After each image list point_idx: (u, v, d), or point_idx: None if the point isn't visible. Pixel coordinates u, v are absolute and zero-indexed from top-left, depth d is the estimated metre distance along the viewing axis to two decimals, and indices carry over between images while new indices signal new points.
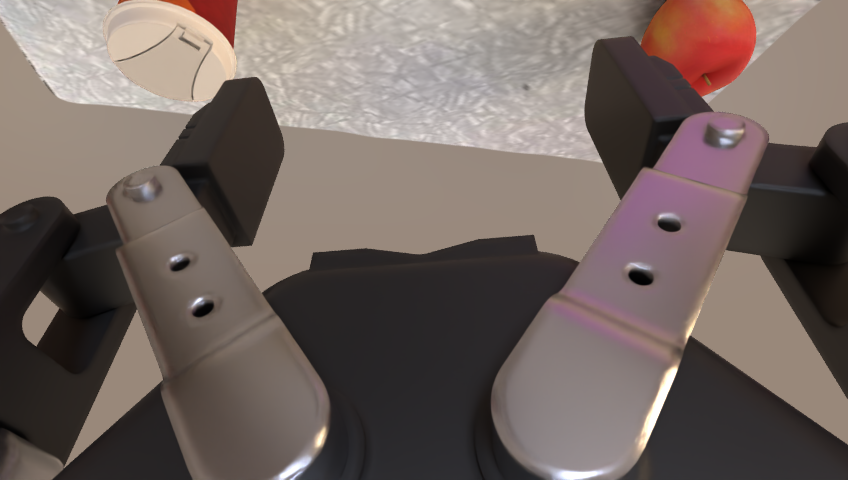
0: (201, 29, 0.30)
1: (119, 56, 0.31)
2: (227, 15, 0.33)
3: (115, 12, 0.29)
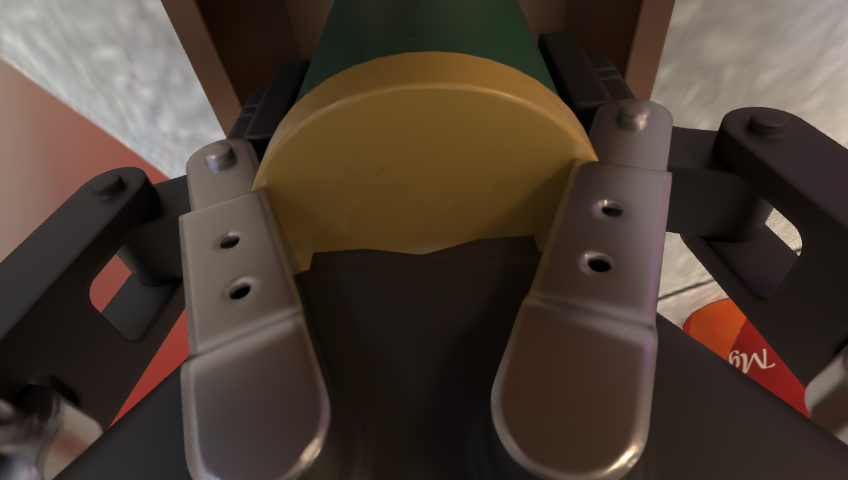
0: None
1: None
2: None
3: None
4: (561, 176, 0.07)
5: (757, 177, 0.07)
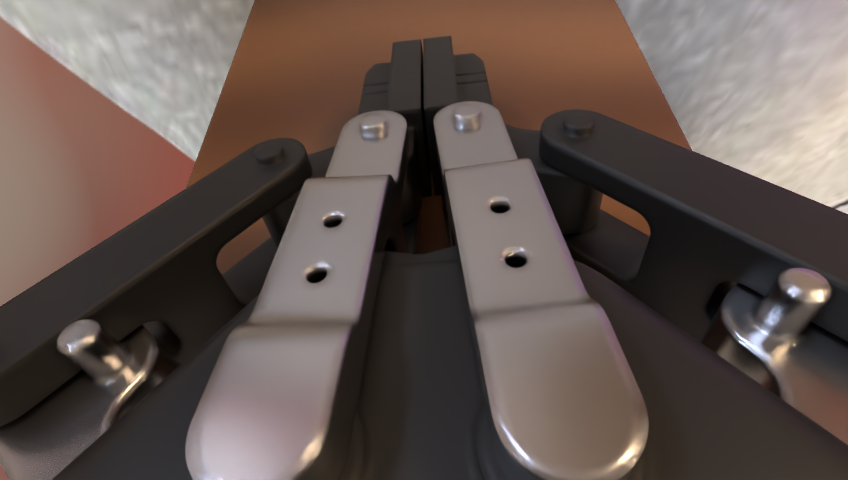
0: None
1: None
2: None
3: None
4: None
5: (591, 176, 0.07)
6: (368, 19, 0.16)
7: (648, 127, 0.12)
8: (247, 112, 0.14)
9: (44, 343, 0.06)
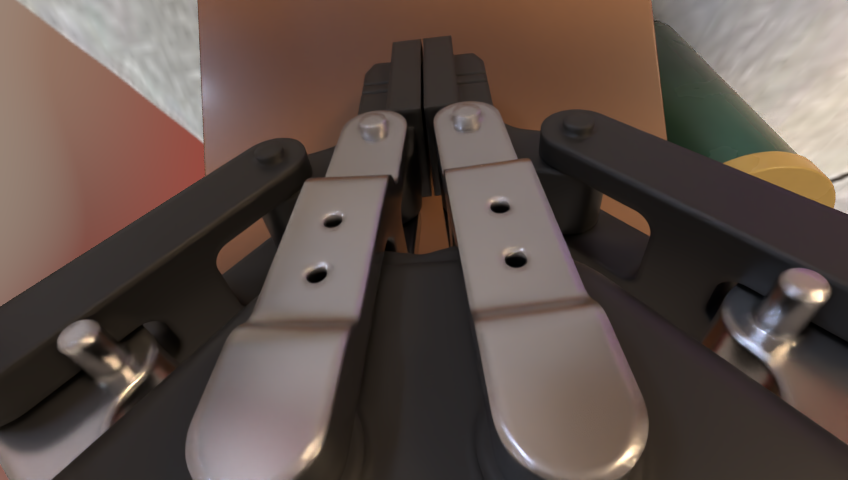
0: None
1: None
2: None
3: None
4: (819, 198, 0.17)
5: (591, 176, 0.07)
6: None
7: (633, 98, 0.12)
8: (236, 61, 0.13)
9: (44, 343, 0.06)
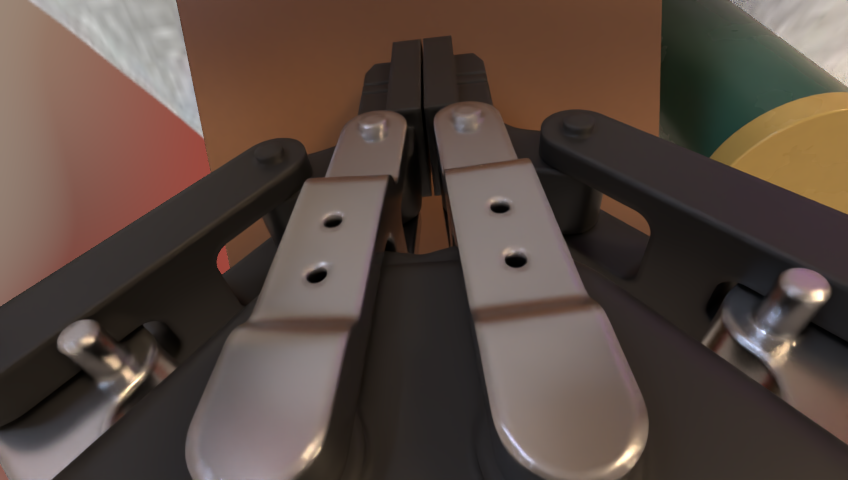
0: None
1: None
2: None
3: None
4: None
5: (591, 176, 0.07)
6: None
7: (631, 47, 0.12)
8: (216, 3, 0.12)
9: (44, 343, 0.06)
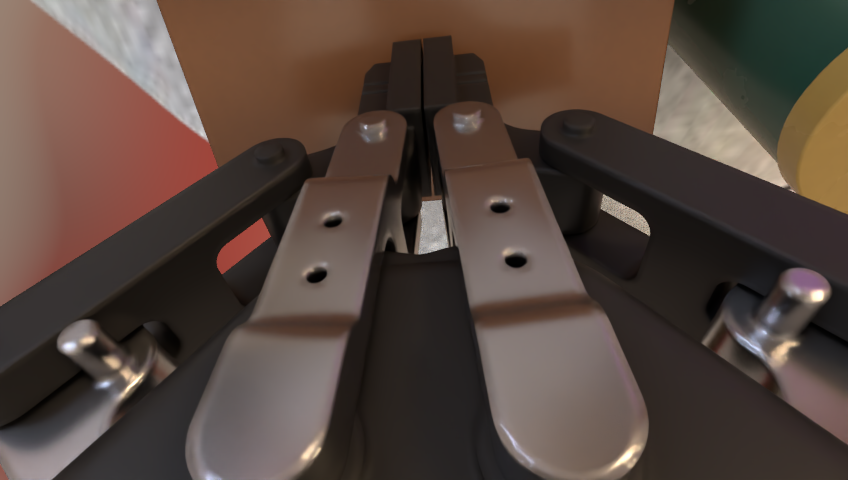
0: None
1: None
2: None
3: None
4: None
5: (591, 176, 0.07)
6: None
7: None
8: None
9: (44, 343, 0.06)
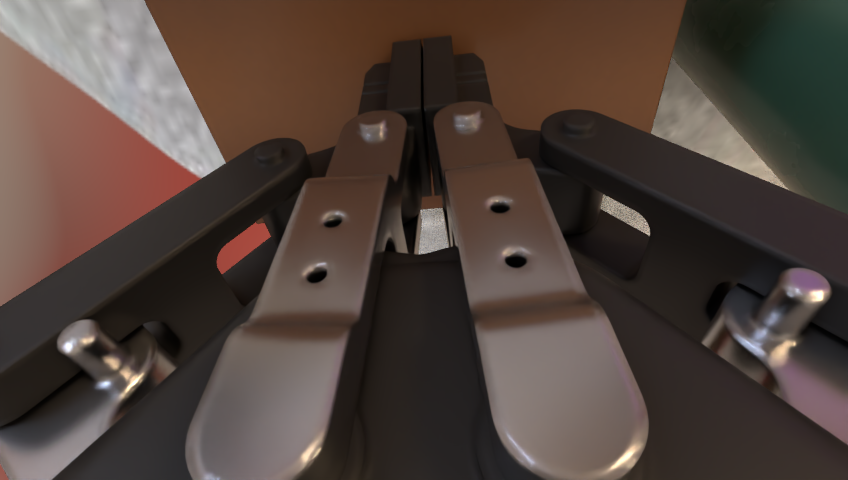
0: None
1: None
2: None
3: None
4: None
5: (591, 176, 0.07)
6: None
7: None
8: None
9: (44, 343, 0.06)
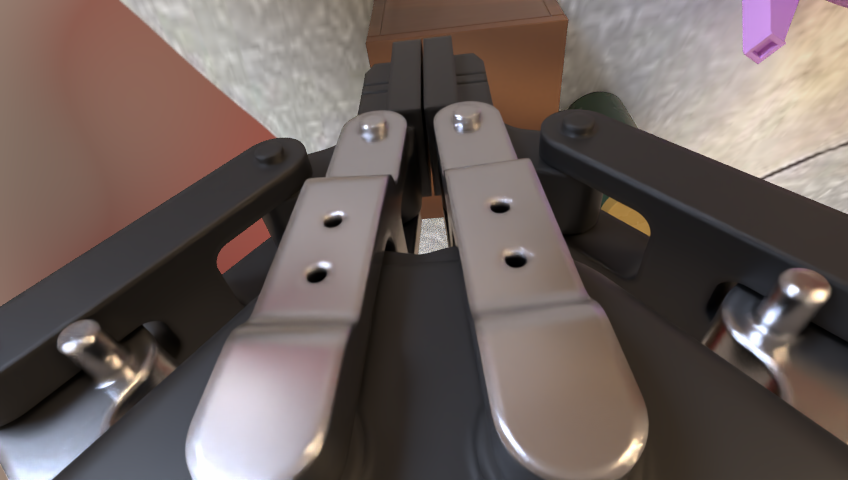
0: None
1: None
2: None
3: None
4: None
5: (591, 176, 0.07)
6: None
7: None
8: None
9: (44, 343, 0.06)
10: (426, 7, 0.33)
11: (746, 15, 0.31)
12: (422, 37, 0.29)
